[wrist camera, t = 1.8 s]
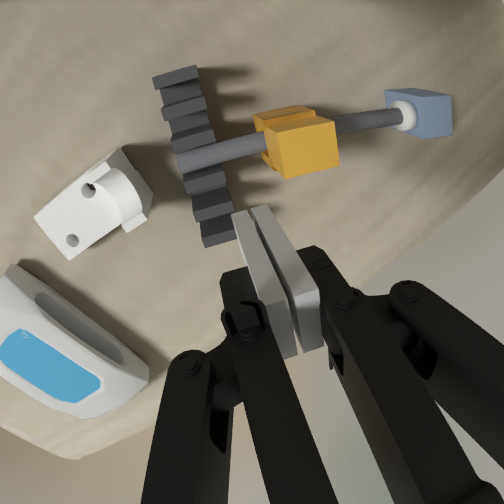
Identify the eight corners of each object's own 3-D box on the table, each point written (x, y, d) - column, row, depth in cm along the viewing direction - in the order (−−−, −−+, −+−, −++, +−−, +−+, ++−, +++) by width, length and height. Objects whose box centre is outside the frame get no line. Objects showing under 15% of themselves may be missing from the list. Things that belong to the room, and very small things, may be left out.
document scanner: (87, 401, 53) (84, 426, 48) (-26, 322, 39) (-38, 346, 34) (152, 360, 50) (151, 390, 45) (17, 255, 35) (-1, 280, 30)
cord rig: (201, 221, 39) (205, 253, 32) (158, 78, 29) (150, 77, 23) (417, 165, 40) (451, 183, 34) (407, 42, 31) (445, 43, 24)
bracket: (120, 144, 32) (105, 161, 26) (153, 192, 36) (147, 219, 30) (43, 205, 33) (19, 233, 27) (76, 246, 37) (59, 280, 31)
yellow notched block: (262, 158, 34) (286, 184, 26) (252, 114, 31) (275, 126, 23) (305, 148, 34) (340, 171, 26) (297, 105, 31) (333, 115, 24)
